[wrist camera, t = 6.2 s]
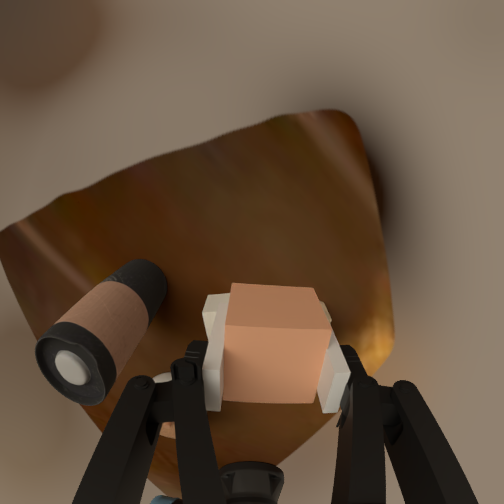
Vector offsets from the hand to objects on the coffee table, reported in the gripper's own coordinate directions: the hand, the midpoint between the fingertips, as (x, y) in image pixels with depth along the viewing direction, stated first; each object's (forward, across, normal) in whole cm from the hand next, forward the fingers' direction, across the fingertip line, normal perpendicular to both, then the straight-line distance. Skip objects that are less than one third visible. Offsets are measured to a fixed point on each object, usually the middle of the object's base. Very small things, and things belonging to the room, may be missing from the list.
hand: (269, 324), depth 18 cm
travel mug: (+19, +16, +6) cm, 26 cm away
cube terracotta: (0, 0, 0) cm, 0 cm away
